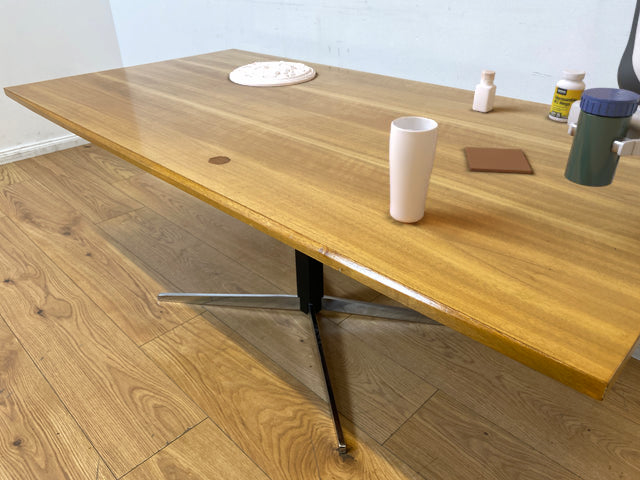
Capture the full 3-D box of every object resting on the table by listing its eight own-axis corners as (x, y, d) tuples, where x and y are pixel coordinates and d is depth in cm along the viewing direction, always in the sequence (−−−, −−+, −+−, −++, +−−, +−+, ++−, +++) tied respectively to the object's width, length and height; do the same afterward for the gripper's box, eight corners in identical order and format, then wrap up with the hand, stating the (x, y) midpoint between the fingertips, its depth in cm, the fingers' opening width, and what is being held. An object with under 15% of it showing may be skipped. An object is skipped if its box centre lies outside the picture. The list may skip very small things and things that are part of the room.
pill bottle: (545, 120, 116) (556, 72, 110) (551, 113, 120) (562, 67, 114) (573, 124, 113) (586, 75, 107) (578, 117, 117) (591, 70, 111)
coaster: (520, 152, 99) (521, 149, 98) (531, 174, 89) (532, 171, 89) (465, 149, 100) (465, 146, 100) (470, 170, 91) (470, 167, 91)
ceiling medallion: (323, 67, 167) (323, 58, 166) (303, 88, 144) (302, 77, 143) (247, 64, 173) (246, 55, 171) (216, 84, 150) (214, 73, 148)
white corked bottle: (493, 109, 123) (500, 71, 118) (485, 113, 121) (492, 74, 116) (479, 106, 126) (485, 68, 121) (471, 110, 123) (477, 71, 118)
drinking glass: (428, 228, 73) (439, 132, 65) (383, 225, 74) (389, 130, 66) (427, 207, 79) (438, 117, 71) (386, 204, 80) (391, 115, 72)
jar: (604, 170, 66) (627, 92, 61) (619, 188, 62) (645, 104, 56) (559, 168, 67) (577, 91, 62) (570, 186, 62) (592, 104, 57)
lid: (624, 102, 62) (629, 87, 61) (644, 117, 57) (649, 101, 56) (573, 102, 63) (576, 87, 62) (587, 116, 58) (591, 100, 57)
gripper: (619, 83, 72) (542, 94, 68) (767, 123, 55) (675, 140, 52) (607, 125, 75) (533, 137, 71) (743, 174, 58) (655, 193, 55)
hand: (593, 139), depth 61 cm, fingers closed on jar, 6 cm apart
